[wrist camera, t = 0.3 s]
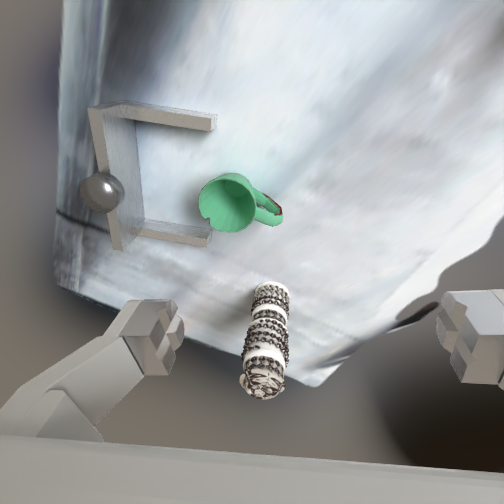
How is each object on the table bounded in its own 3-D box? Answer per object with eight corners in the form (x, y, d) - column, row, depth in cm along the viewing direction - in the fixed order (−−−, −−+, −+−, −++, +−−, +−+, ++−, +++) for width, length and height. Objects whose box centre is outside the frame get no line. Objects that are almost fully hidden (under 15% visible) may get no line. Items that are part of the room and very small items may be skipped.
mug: (207, 199, 59) (193, 222, 50) (218, 152, 53) (204, 169, 45) (275, 222, 60) (272, 248, 51) (293, 178, 54) (292, 200, 46)
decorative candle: (254, 308, 74) (238, 404, 53) (251, 279, 69) (231, 373, 48) (290, 308, 72) (288, 408, 52) (290, 280, 67) (287, 377, 47)
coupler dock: (217, 114, 50) (195, 129, 39) (211, 237, 64) (194, 273, 53) (110, 98, 50) (60, 108, 40) (128, 223, 64) (94, 255, 54)
